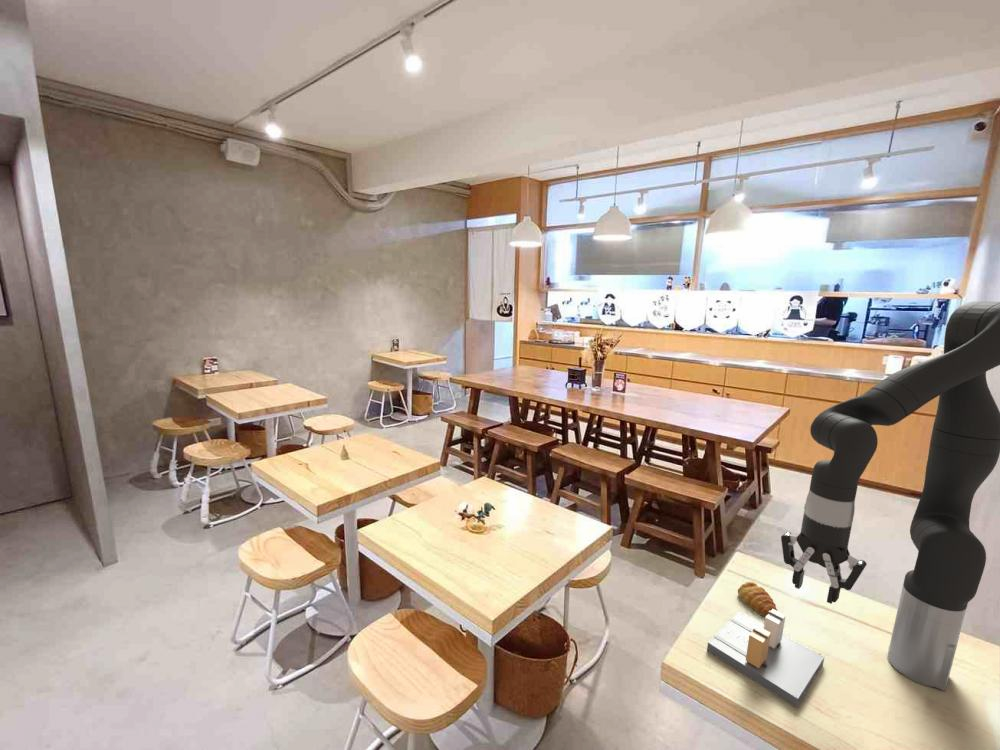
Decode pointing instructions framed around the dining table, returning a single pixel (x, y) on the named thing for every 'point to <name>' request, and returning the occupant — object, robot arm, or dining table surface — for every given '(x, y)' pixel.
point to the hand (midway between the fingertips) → (813, 593)
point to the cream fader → (774, 626)
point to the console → (768, 659)
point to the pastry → (756, 598)
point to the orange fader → (758, 646)
